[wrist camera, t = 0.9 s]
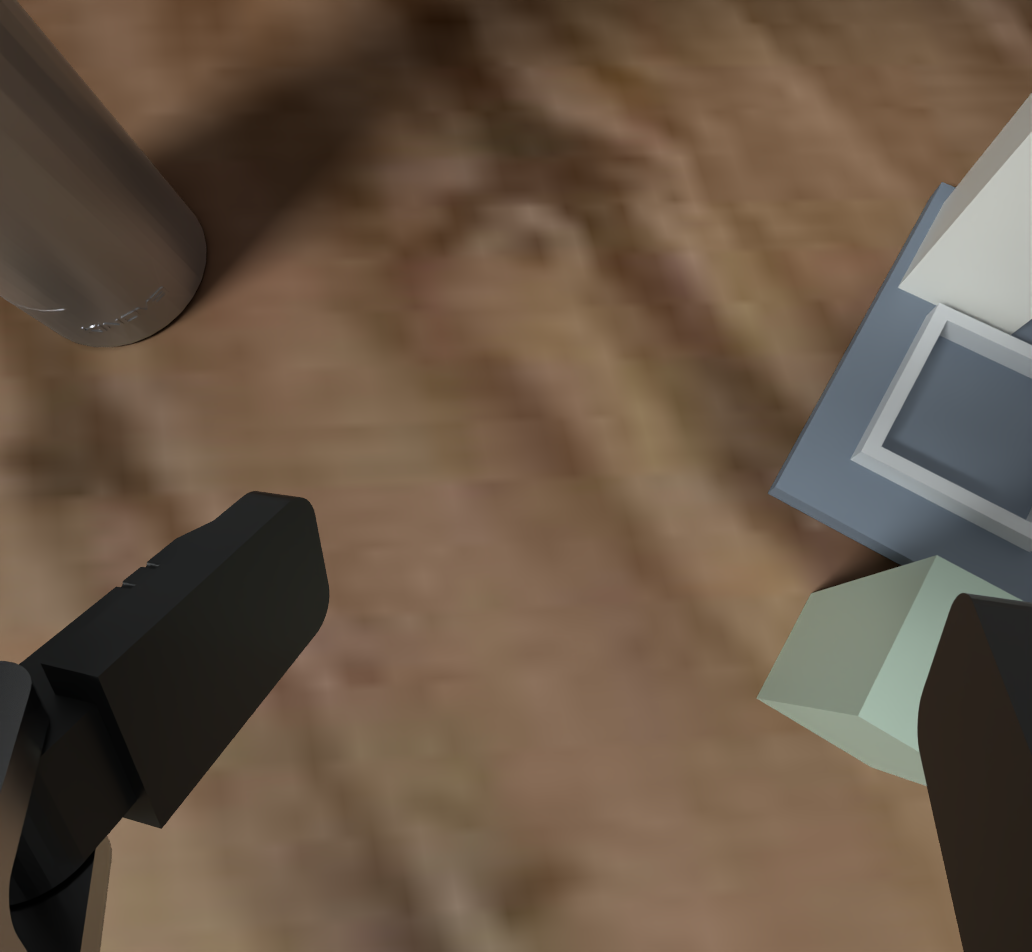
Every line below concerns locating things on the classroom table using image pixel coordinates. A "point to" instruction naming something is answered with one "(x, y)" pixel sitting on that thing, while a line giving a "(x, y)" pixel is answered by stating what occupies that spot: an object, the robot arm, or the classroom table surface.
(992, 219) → the standing pillar
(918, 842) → the classroom table surface
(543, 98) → the classroom table surface
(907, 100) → the classroom table surface
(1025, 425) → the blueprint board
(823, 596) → the sage pillar
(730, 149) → the classroom table surface
